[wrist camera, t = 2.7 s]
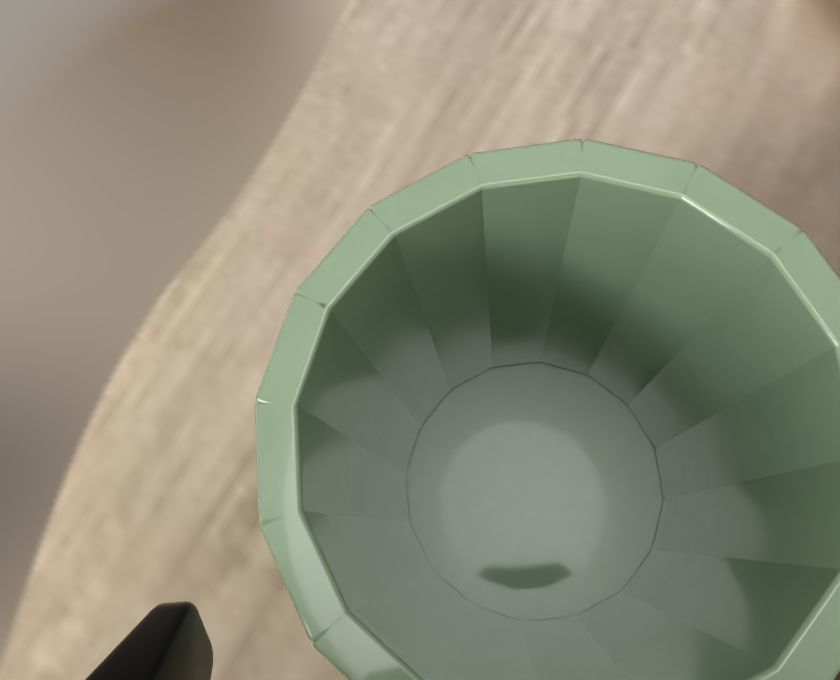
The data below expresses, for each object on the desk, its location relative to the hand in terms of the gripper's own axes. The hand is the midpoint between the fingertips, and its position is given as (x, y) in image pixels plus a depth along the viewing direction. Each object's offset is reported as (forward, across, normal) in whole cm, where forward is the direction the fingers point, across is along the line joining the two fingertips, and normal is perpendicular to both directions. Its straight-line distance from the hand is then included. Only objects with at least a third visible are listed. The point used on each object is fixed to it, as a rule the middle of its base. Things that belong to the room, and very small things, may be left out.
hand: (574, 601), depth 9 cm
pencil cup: (+8, 0, +5) cm, 9 cm away
